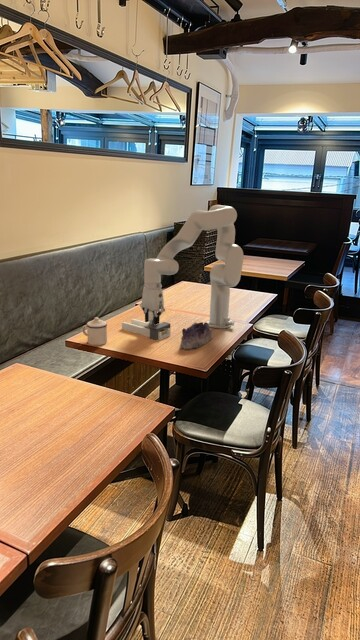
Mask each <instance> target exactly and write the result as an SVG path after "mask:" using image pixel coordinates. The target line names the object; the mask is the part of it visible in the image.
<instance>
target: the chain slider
mask: <svg viewBox="0 0 360 640" xmlns="http://www.w3.org/2000/svg"><path fill="white" fill-rule="evenodd" d="M154 317H155V312H154V310H151V309H150V310H148V325H147V326H144V328H148V329H150V327H152V326H154V325H155V324H154ZM159 332H162V333H164V332H165V330H163V329H162V330H159Z"/></svg>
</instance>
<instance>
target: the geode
mask: <svg viewBox="0 0 360 640" xmlns="http://www.w3.org/2000/svg"><path fill="white" fill-rule="evenodd" d="M181 331H182V332H181V333H182V336H181V338H180V340H181V341H180V345H179V347H180V348H181V350H184V351H191V350H196V349H198V348H200V347H201V346H203V345H205V344H207V343H209V342H210V341H211V340H212V338H213V331H212V330H211V329H210V327H209V324H208V323H206V322H202V321H201V322H194V323H192V324H191V325H190V326H189V327H187V328H182V329H181Z"/></svg>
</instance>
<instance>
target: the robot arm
mask: <svg viewBox="0 0 360 640" xmlns="http://www.w3.org/2000/svg"><path fill="white" fill-rule="evenodd" d="M237 217H238V213H237V210H236V209H235V208H234V207H233V206H229V205H221V204H215V205H212V206H210V208H209V210H204V209H203V210H202V209H196V210H194V211H193V212H191V213H190V215H189V217H188V218H186V220H185V222H184V224H183V226H182V227H181V228H180V230H179V232H178V233H177V234H176V235H175V236H174V237H173V238H171V240H169V241H168V242H167V243H166V244H165V245H164V246H163V247H162V248H161V250H160V252H159V253H158V254H157V256H156V258H147V259H146V258H145V260H144V264H143V265H144V267H143V268H144V270H143V271H144V274H143V275H144V277H143V281H144V282H143V283H144V284H143V285H144V287H143V290H142V296H141V303H140V304H139V306H140V309H141V310H142V311H143V314H144V322H148V310H154V312H155V317H154V324H155V325H157V324H160V318H161V317H160V316H161V315H162V314H163V313H164V312H166V308H165V307H164V304H165V302H164V301H165V300H164V293H163V288H162V287H163V285H162V283H161V282H162V280H161V276H162V275H166V276H171V275H175V274H177V273H178V271H179V268H180V266H179V263H178V261H177V260H175V259H174V258H175V256H176V255H177V254H178V253H179V252H181V251H183V250H185V249H189V248H190V247H193V244H194V243H195V242H196V240H197V239H198V237H199V236H200V234H201V233H202V231H213V230H217V238H216V245H215V253H214V254H215V258H216V259H217V260H219V261H220V262H223V263H217V264H214V265H213V266H212V267H211V269H210V272H209V278H210V279H209V280H210V304H209V320H206V322H205V323H208V324H209V328H213V329H227V328H230V327H232V326H233V327H234V325H235V321H234V320H232V319H231V317H230V316H229V312H230V311H229V310H230V295H231V294H230V293H231V289H230V288H233V287H236V286H237V285H238V284H239V282H240V281H241V277H242V276H241V275H242V270H243V263H244V251H243V249H242V248H241V246H239V245H238V244H235V240H236V238H235V237H236V228H235V227H236V226H235V225H234V224H235V222H236V220H237Z"/></svg>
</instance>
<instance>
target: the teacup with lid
mask: <svg viewBox="0 0 360 640" xmlns="http://www.w3.org/2000/svg"><path fill="white" fill-rule="evenodd" d="M107 326H108V323H107V322H106V321H105V320H102V319H100V318H99V317H97V316H96V317H94V319H93V320H90V321H88V322H87V323H86V324H85V325H83V327H82V329H81V331H82V333H83V335H84V336H85V337H87V343H88V345H90V346H103V345H106V344H107V342H108V329H107V328H108V327H107ZM85 329H86V330H85Z"/></svg>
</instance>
